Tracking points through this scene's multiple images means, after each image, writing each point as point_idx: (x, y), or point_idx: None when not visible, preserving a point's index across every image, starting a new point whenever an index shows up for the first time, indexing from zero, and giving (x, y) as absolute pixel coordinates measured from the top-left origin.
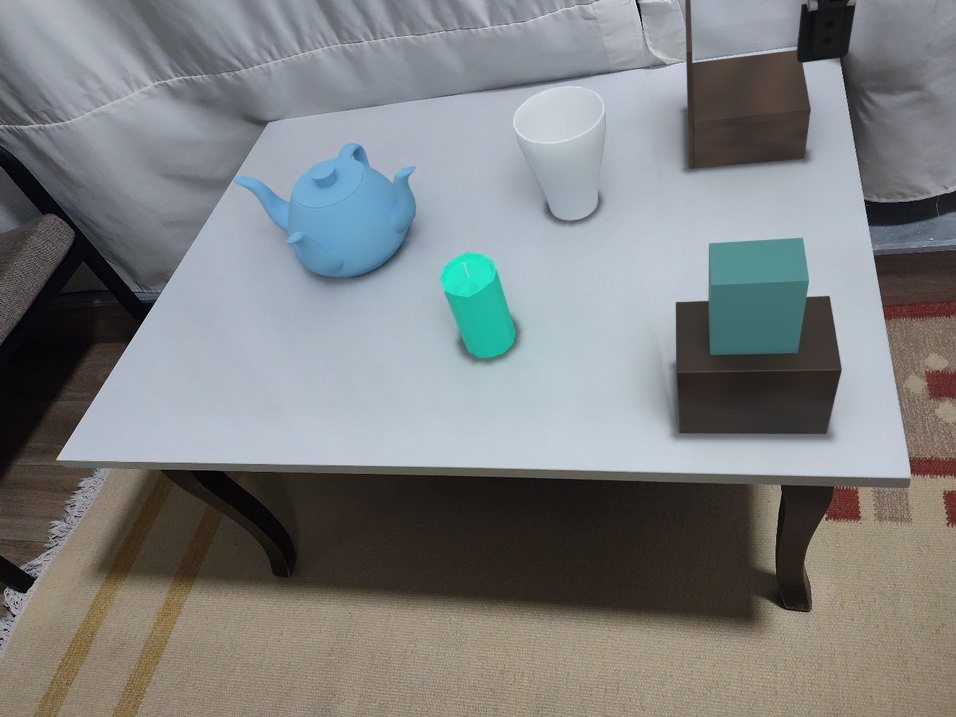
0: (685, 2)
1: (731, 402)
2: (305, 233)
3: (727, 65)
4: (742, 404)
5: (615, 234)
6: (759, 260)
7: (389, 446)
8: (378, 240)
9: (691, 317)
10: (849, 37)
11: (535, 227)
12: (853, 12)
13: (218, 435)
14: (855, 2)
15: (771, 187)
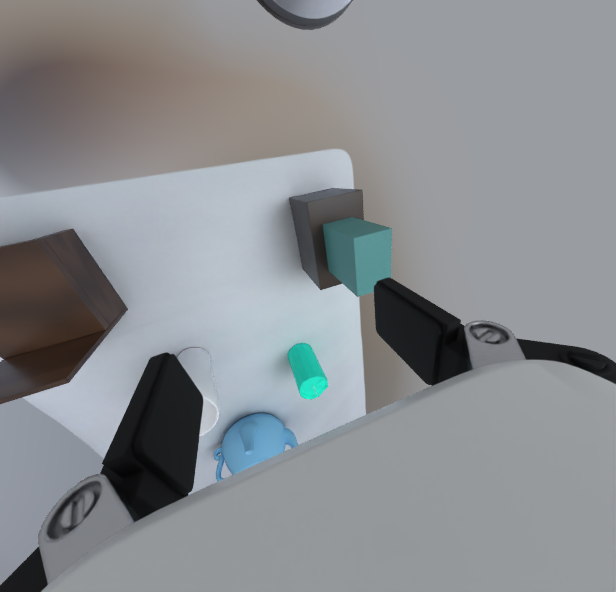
0: None
1: None
2: None
3: None
4: None
5: (213, 329)
6: (373, 263)
7: (356, 359)
8: (269, 426)
9: (330, 279)
10: (405, 288)
11: (220, 368)
12: (441, 309)
13: (356, 408)
14: (495, 323)
15: (126, 248)
